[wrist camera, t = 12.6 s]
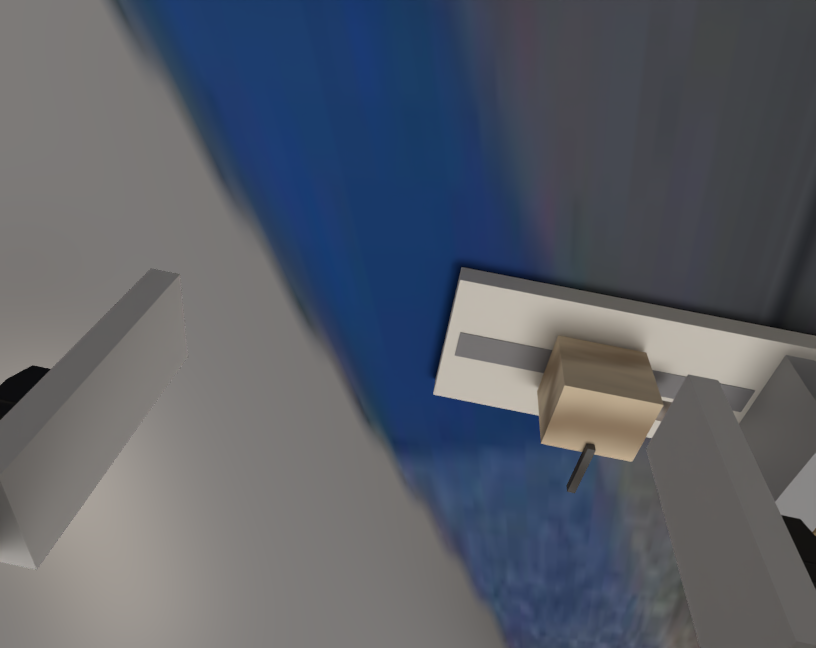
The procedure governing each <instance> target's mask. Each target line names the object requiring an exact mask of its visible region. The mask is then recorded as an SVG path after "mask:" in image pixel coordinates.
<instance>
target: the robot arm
mask: <svg viewBox="0 0 816 648" xmlns="http://www.w3.org/2000/svg"><path fill="white" fill-rule="evenodd" d="M187 358H188V351H187V341H186V331H185V320H184V310H183V300H182V289H181V280H180V274H176V273H171V272H166V271H161V270H156V269H150V270H149V271H148V272H147V273H146V274H145V275H144V276H143V277H142V278H141V279H140V280H139V281H138V282H137V283H136V284H135V285H134V286H133V287H132V288H131V289H130V290H129V291H128V292H127V293H126V294H125V295H124V296H123V297H122V298H121V299H120V300H119V301H118V302H117V303H116V304H115V305H114V306H113V307H112V308H111V309H110V310H109V311H108V312H107V313H106V314H105V315H104V316H103V317H102V318H101V319H100V320H99V321H98V322H97V323H96V324H95V325H94V327H92V328H91V329H90V330H89V331H88V332H87V333H86V334H85V336H83V337H82V338H81V340H79V342H77V344H75V345H74V347H73V348H72V349H71V350H70V351H69V352H68V353H67V354H66V355H65V356H64V357H63V358H62V359H61V360H60V361H59V362H58V363H57V364H56V365H55V366H54V367H53V368H52V369H48V368H43V367H38V366H31V367H29V368H27V369H25V370H23V371H21V372H19V373H17V374H16V375H14V376H12V377H10V378H8V379H7V380H5V382H3V383H2V384H1V385H0V562H2V563H7V564H12V565H17V566H21V567H26V568H31V569H35V570H36V569H38V567H39V566H40V564H41V563H42V562H43V560H44V559H45V557H46V556H47V555H48V553H49V552H50V550H51V549H52V548H53V546H54V545H55V543H56V542H57V541H58V539H59V538H60V536H61V535H62V534H63V532H64V531H65V529H66V528H67V527H68V525H69V524H70V522H71V521H72V519H73V518H74V517H75V515H76V514H77V512H78V511H79V510H80V508H81V507H82V505H83V504H84V503H85V501H86V500H87V498H88V497H89V495H90V494H91V493H92V491H93V490H94V488H95V487H96V485H97V484H98V483H99V481H100V480H101V479H102V477H103V476H104V474H105V473H106V472H107V470H108V469H109V467H110V466H111V464H112V463H113V462H114V460H115V459H116V458H117V456H118V455H119V453H120V452H121V450H122V449H123V448H124V446H125V445H126V443H127V442H128V441H129V439H130V438H131V436H132V435H133V434H134V432H135V431H136V429H137V428H138V426H139V425H140V423H141V422H142V421H143V419H144V418H145V417H146V415H147V414H148V412H149V411H150V410H151V408H152V407H153V405H154V404H155V403H156V401H157V400H158V398H159V397H160V396H161V394H162V393H163V391H164V390H165V388H166V387H167V386H168V384H169V383H170V381H171V380H172V379H173V377H174V376H175V374H176V373H177V372H178V370H179V369H180V367H181V366H182V365H183V363H184V362H185V360H186V359H187ZM646 450H647V454H648V457H649V461H650V465H651V468H652V472H653V476H654V479H655V483H656V487H657V491H658V494H659V498H660V502H661V505H662V509H663V513H664V516H665V520H666V524H667V528H668V531H669V535H670V539H671V542H672V546H673V550H674V553H675V557H676V561H677V565H678V568H679V572H680V576H681V579H682V583H683V587H684V590H685V594H686V598H687V602H688V605H689V609H690V613H691V616H692V620H693V624H694V627H695V631H696V635H697V638H698V642H699V646H700V648H816V536H815V535H814V534H813V533H812V531H811V530H810V529H809V528H808V527H807V526H806V525H805V524H804V522H803V521H802V520H801V519H798V518H793V517H788V516H784V515H781V514H780V512H779V510H778V507H777V505H776V503H775V501H774V499H773V497H772V495H771V492H770V490H769V488H768V486H767V484H766V482H765V479H764V477H763V475H762V473H761V471H760V469H759V467H758V464H757V462H756V460H755V458H754V456H753V454H752V452H751V449H750V447H749V445H748V443H747V441H746V439H745V436H744V434H743V432H742V430H741V428H740V426H739V424H738V421H737V419H736V417H735V415H734V413H733V411H732V409H731V406H730V404H729V402H728V400H727V398H726V396H725V393H724V391H723V389H722V387H721V385H720V383H719V381H718V380H715V379H710V378H705V377H699V376H694V375H689V374H688V375H687V377H686V379H685V381H684V382H683V384H682V386H681V388H680V389H679V391H678V393H677V395H676V396H675V398H674V400H673V402H672V404H671V405H670V407H669V409H668V411H667V412H666V414H665V416H664V418H663V419H662V421H661V423H660V425H659V426H658V428H657V430H656V432H655V434H654V435H653V437H652V439H651V441H650V442H649V444H648V446H647V448H646Z"/></svg>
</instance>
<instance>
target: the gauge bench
mask: <svg viewBox="0 0 816 648" xmlns="http://www.w3.org/2000/svg"><path fill="white" fill-rule="evenodd" d="M558 335H559V336H564V337H569V338H574V339H579V340H584V341H590V342H595V343H600V344H605V345H610V346H615V347H620V348H625V349H630V350H635V351H640V352H646V353H647V356H648V359H649V362H650V365H651V368H652V371H653V374H654V377H655V380H656V383H657V386H658V389H659V392H660V395H661V398H662V400H663V401H668V402H673V400H674V398H675V396H676V395H677V393H678V391H679V389H680V388H681V386H682V384H683V382H684V381H685V379H686V377H687V375H688V374H689V375H694V376H699V377H705V378H710V379H715V380H718V381H719V383H720V385H721V387H722V389H723V391H724V393H725V396H726V398H727V400H728V402H729V404H730V406H731V409H732V411H733V413H734V415H735V417H736V419H737V421H738V424H739V426H740V428H741V430H742V432H743V434H744V436H745V439H746V441H747V443H748V445H749V447H750V449H751V452H752V454H753V456H754V458H755V460H756V462H757V464H758V467H759V469H760V471H761V473H762V475H763V477H764V479H765V482H766V484H767V486H768V488H769V490H770V492H771V495H772V497H773V499H774V501H775V503H776V505H777V507H778V510H779V512H780V514H781V515H784V516H788V517H793V518H798V519H801V520H802V521H803V522H804V524H805V525H806V526H807V527H808V528H809V529H810V530H811V531H812V532H813V531H814V530H815V528H816V336H814V335H809V334H803V333H798V332H793V331H788V330H783V329H778V328H773V327H767V326H762V325H757V324H752V323H747V322H742V321H737V320H731V319H726V318H721V317H716V316H711V315H706V314H701V313H695V312H690V311H685V310H680V309H675V308H670V307H665V306H659V305H654V304H649V303H644V302H639V301H634V300H629V299H624V298H618V297H613V296H608V295H603V294H598V293H593V292H588V291H582V290H577V289H572V288H567V287H562V286H557V285H552V284H546V283H541V282H536V281H531V280H526V279H521V278H516V277H510V276H505V275H500V274H495V273H490V272H485V271H480V270H474V269H469V268H464V267H461V271H460V275H459V280H458V284H457V288H456V293H455V297H454V301H453V306H452V310H451V314H450V319H449V323H448V327H447V332H446V336H445V340H444V345H443V349H442V353H441V358H440V362H439V366H438V371H437V375H436V379H435V386H434V393H433V394H434V395H439V396H444V397H449V398H454V399H459V400H464V401H469V402H474V403H479V404H484V405H489V406H494V407H499V408H504V409H509V410H514V411H519V412H524V413H529V414H534V415H539V409H538V396H537V390H538V388H539V385H540V382H541V380H542V377H543V374H544V372H545V369H546V366H547V364H548V361H549V358H550V356H551V353H552V350H553V348H554V345H555V342H556V340H557V337H558ZM660 423H661V421H657V420H655V422H654V423H653V425H652V427H651V429H650V431H649V432H648V434H647V436H646V437H649V438H652V437H653V435H654V434H655V432H656V430H657V428H658V426H659V425H660Z"/></svg>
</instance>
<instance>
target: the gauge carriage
mask: <svg viewBox="0 0 816 648" xmlns="http://www.w3.org/2000/svg"><path fill="white" fill-rule="evenodd" d="M537 396H538V409H539V423H540V436H541V444H546V445H551V446H556V447H561V448H565V449H570V450H575V451H580V452H582V454H581V456H580V458H579V460H578V463H577V465H576V467H575V469H574V471H573V473H572V475H571V477H570V479H569V482H568V484H567V492H572V493H575V492H576V490H577V488H578V486H579V484H580V481H581V479H582V477H583V475H584V473H585V471H586V469H587V467H588V465H589V463H590V461H591V459H592V457H593V455H594V454H595V455H600V456H605V457H610V458H615V459H620V460H625V461H630V462H632V461H633V459H634V458H635V456H636V454H637V452H638V450H639V449H640V447H641V445H642V443H643V441H644V440H645V438H646V436H647V434H648V432H649V431H650V429H651V427H652V425H653V423H654V422H655V420H657V421H662V419H663V418H664V416H665V414H666V412H667V411H668V409H669V407H670V405H671V404H672V402H668V401H663V400H662V398H661V395H660V392H659V389H658V386H657V383H656V380H655V377H654V374H653V371H652V368H651V365H650V362H649V359H648V356H647V353H646V352H640V351H635V350H630V349H625V348H620V347H615V346H610V345H605V344H600V343H595V342H590V341H584V340H579V339H574V338H569V337H564V336H559V335H558V337H557V340H556V342H555V345H554V348H553V350H552V353H551V356H550V358H549V361H548V364H547V366H546V369H545V372H544V374H543V377H542V380H541V382H540V385H539V388H538V390H537Z"/></svg>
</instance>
